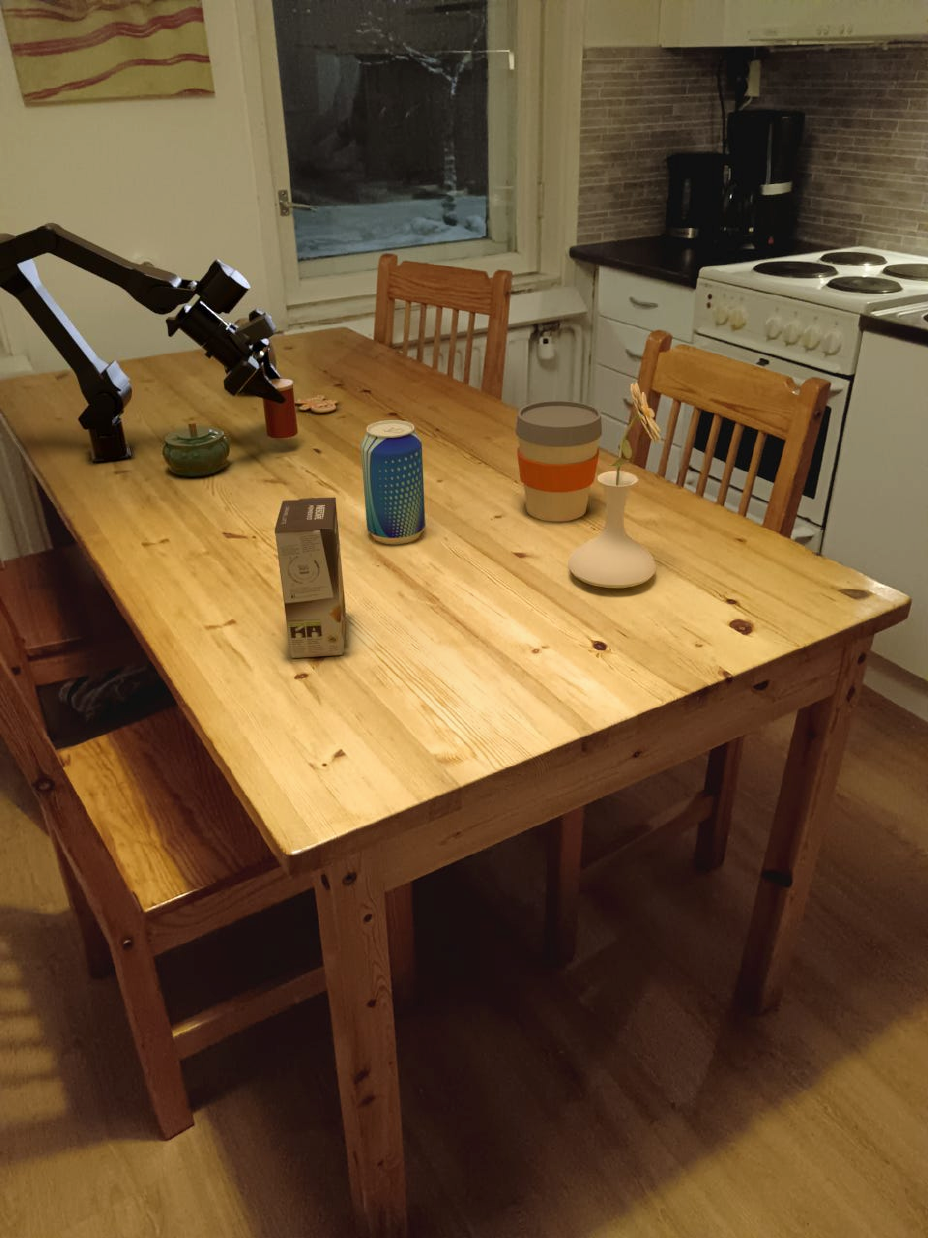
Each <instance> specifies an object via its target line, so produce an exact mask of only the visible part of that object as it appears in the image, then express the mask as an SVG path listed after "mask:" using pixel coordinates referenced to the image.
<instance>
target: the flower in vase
mask: <svg viewBox="0 0 928 1238" xmlns="http://www.w3.org/2000/svg"><path fill="white" fill-rule="evenodd" d="M630 394H631V397H632V398H631V399H632V401H633V404H634V407H635V410H636V412H635V415H634V416H633V418H632V420H631V422H630V423H629V424H628V426H627V428H626V430H625V432H624V434H623V436H622V438H621V441H620V444H619V445H620V446H619V451H618V458H617V460H615V462H613V463H610V464H608V466H609V467H616V470H609V471H605V472H602V473H600V474H598V475H597V478H596V479H597V481H598V483H599V484H600V485H601V487H602V488H603V492H604V496H605V497H604V498H605V506H606V516H605V524H604V527H603V530H602V531H601V532H600V533H598V534H597V535H596V536H595V537H593V538H591V539H589V540H587V541H585V542H584V543H582V544H581V545H579V546H578V547H577V548H576V549H575V550H574V551H573V552H572V553H571V555H570V557H569V559H568V562H567V564H568V568H569V570H570V572H571V573H572V575H573V576H574V577H575V578H576V579H578V580H580V581H581V582H582V583H585V584H588V585H591V586H595V587H599V588H605V589H606V588H607V589H625V588H632V587H637V586H639V585H641V584H644V583H646V582H648V581H649V580H650V579H651V578H652V577H653V575H654V574H655V573H656V571H657V564H656V562H655V558H654V557H653V555H652V554H651V553H650V552H649V550H647V548H645V547H644V546H643V545H641V544H640V543H639V542H637V541H636V540H635V539H633V538H632V537H630V536H629V535H628V533H627V531H626V529H625V511H626V505H627V501H628V497H629V494H630V492H631V490H632V489H633V488H634V487H635V485H636V484H637V483H638V481H639V478H638V476H637V475H635V474H634V473H631V472H628V471H622V470H621V466H622V465H625V464H627V463H629V462H630V459H631V458H632V456H633V449H632V447H631V444H630V441H629V440H627V439H626V438H627V436H628V434H629V432H630V431H631V429H632V427H633V425H634V423H635V422H636V421H637V420H638V421H640V422H641V424H642V426H643V428H644V430H645V431H646V433H647V435H648V437H649V438H650V440H651V441H652V442H654V443H658V441H659V442H660V441H662V438H661V436H660V434H659V433H661V428H660V426H659V425H658V424H657V423H656V421H655V420H654V418H655V415H656V414H655V412H654V410H653V408H651V407H649V403H648V402H647V401H648V400H647V395H646V393H645V392H644V391H642V392H641V390H640V386H639V383H638V382H637V381H636V382H635V383H633V382H632V383H631V384H630ZM622 454H623V456H624V457H625V458H626V459H627V460H626V459H624V458H622Z"/></svg>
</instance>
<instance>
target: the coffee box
mask: <svg viewBox="0 0 928 1238" xmlns="http://www.w3.org/2000/svg"><path fill="white" fill-rule="evenodd" d="M337 509H338V508H337V498H336V497H310V498H298V499H291V500H290V499H288V500H282V502H281V505H280V509H279V512H278V516H277V519H276V524H275V528H274V535H275V541H276V542H275V543H276V550H277V558H278V565H279V573H280V574H279V575H280V582H281V590H282V597H283V605H284V614H285V622H286V630H287V637H288V645H289V653H290V655H289V656H290V658H292V659H296V658H312V657H313V658H315V657H328V656H342V655H344V652H345V639H346V626H347V609H346V597H345V587H344V575H343V565H342V564H343V563H342V554H341V553H342V552H341V543H340V534H339V533H340V531H339V522H338V521H339V520H338V510H337Z"/></svg>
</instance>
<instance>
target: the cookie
mask: <svg viewBox="0 0 928 1238" xmlns="http://www.w3.org/2000/svg"><path fill="white" fill-rule="evenodd" d="M325 398H326V397H325V395H315V396H312V397H311V398H298V399H296V400H294V402H295V405H300V406H299V407H298V410H299V411H302V412H304V411H308V410H310V412H312V413H314V414H327V413H331V412H334V411H336V409H337V406H336V405H337V404H338V400H336V399H325Z"/></svg>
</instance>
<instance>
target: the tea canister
mask: <svg viewBox="0 0 928 1238" xmlns="http://www.w3.org/2000/svg"><path fill="white" fill-rule="evenodd" d="M270 381H271V382H272V383H273V384H274V385H275V386H276V388H277V389H278V390H279V391H280V392H281V393H282V394H283V396H284V397H285V398H286V401H285V402H284V403H283V404H280V403H277V402H274V401H270V400H267V399H264V398H261V399H262V406H263V415H264V423H265V431H266V436H267V437H268V438H271V439H275V440H277V439H278V440H279V439H282V440H283V439H288V438H293V437H296V436H297V435H298V432H299V431H298V430H299V429H298V421H297V414H296V412H297V411H296V404H295V402H294V401H295V393H294V381H293V380H291V379H289V378H282V379H271V380H270Z"/></svg>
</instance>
